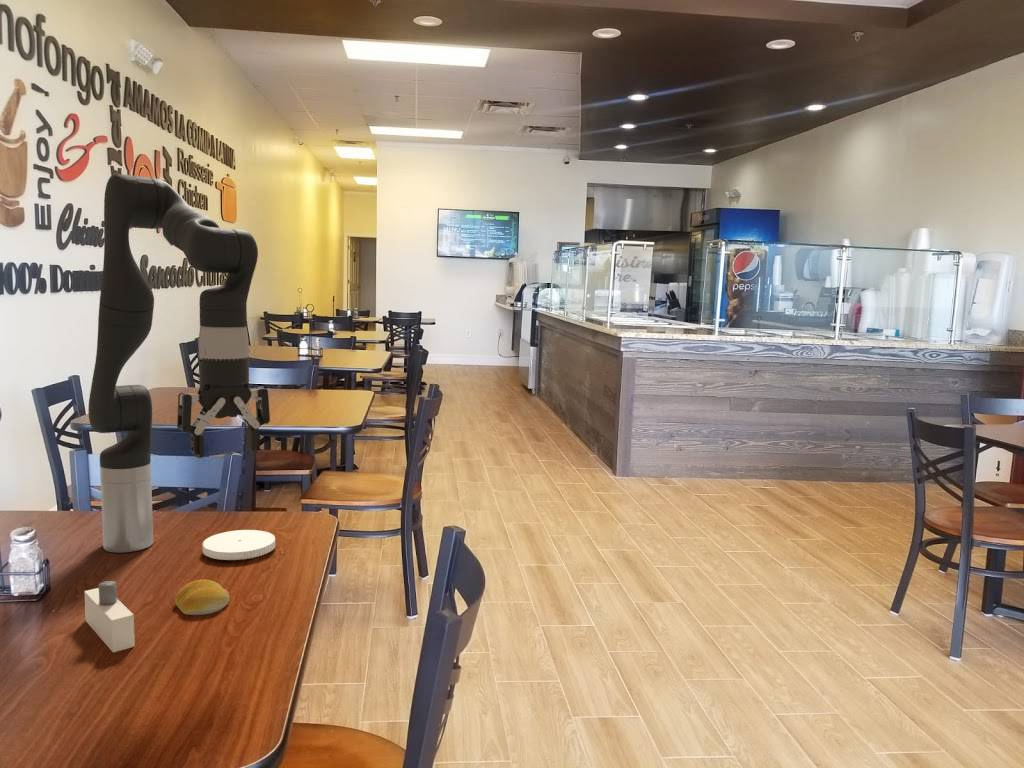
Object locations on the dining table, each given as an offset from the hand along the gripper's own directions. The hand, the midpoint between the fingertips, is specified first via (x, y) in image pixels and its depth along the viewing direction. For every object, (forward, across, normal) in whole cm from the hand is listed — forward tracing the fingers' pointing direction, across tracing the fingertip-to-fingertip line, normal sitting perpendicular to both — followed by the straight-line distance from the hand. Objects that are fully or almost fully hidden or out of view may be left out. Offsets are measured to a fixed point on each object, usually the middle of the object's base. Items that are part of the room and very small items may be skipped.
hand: (225, 453), depth 124 cm
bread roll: (+27, +2, -5) cm, 28 cm away
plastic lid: (+28, -13, -26) cm, 40 cm away
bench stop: (+27, +17, -3) cm, 32 cm away
